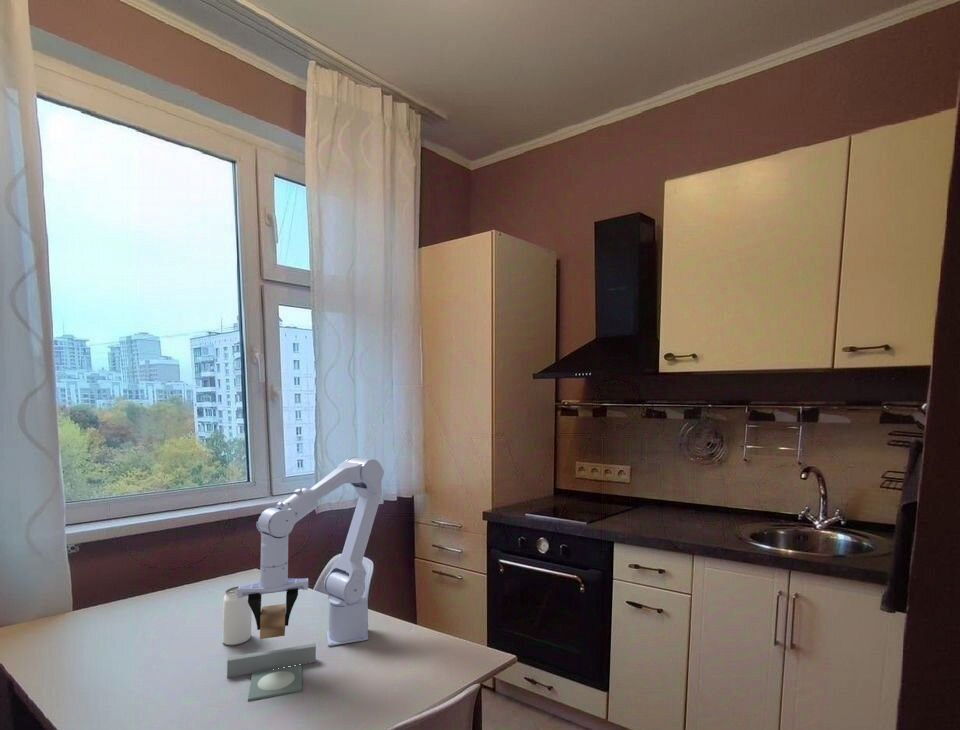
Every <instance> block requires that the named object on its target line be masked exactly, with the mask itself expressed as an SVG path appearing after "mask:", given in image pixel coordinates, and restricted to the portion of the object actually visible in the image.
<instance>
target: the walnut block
mask: <svg viewBox="0 0 960 730" xmlns="http://www.w3.org/2000/svg"><path fill="white" fill-rule="evenodd" d="M285 615H286V603H281V604H280V603H279V604H273V605H265V606H261V615H260V630H259V640H264V639H266V640H267V639H271V638H277V637H284V636H285V635H286V626H285Z"/></svg>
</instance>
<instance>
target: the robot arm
mask: <svg viewBox="0 0 960 730" xmlns="http://www.w3.org/2000/svg"><path fill="white" fill-rule="evenodd" d="M384 474H385V470H384V469H383V467H382V465H381V463H380V462H379V461H378V460H377V459H373V458H371V459H369V458H360V457H355V456H351V457H348V458H347V459H345V461H342V462H340V463H339V464H338V466H337V467H336V468H335V469H334V470H332V471H331V472H330V473H329V474H327V475H326V476H325V477H324V478H322V479H321V480H319V481H318V482H317V483H316V484H314V485H313V486H311V488H307V487H302V488H296V489H294V491H293V494H291V496H289V497H287V498H286V499H285V500H283V501H279V502H278V503H276V506H275V507H268V508H266V509H265V510H264V511H262V512H261V513H260V516H259V517H258V521H256V523H255V525H256V526H255V527H256V529H257V530H258V532H259V533H260V569H259V570H260V575H259V582H253V583H250V584H245V585H239V587H238V598H243V596H248V604H249V606H250V607H251V609H252V615H253V616H254V619H255V623H256V630H257V631H260V615H261V610H262V595H266V594H274V593H281V592H282V593H283V592H286V594H285V597H286V598H285V604H286V615H285V627H287V626H289V623H290V622H289V621H290V616H291V613H292V610H293V607H294V605H295V603H296V601H297V598H298V595H299V590H303V591H307V590H309V578H308V577H307V578H305V577H304V578H289V577H288V575H289V534H291V532H292V531H293V529H294V526H295V524H296V523H298V522H299V521H301V519H303V518H304V517H306V516H307V515H308V514H309V513H311V512H313V511H314V510H315V509H317V507H318V504H319V500H321V499H323V498H324V497H326V496H327V495H329V494H330V493H332V492H333V491H335V490H336V489H338V488H339V487H341V486H343V485H344V484H350V485H351V486H352V487H354V489H355V490H356V492H357V495H358V500H357V502H356V506H355V509H354V512H353V516H352V519H351V522H350V525H349V529H348V533H347V535H346V539H345V543H344V546H343V550H342V553H341V555H340V557H339V558H338V559H336V560H335V561H333V562H332V566H331V568H330V570H329V571H328V573H327V575H326V576H325V577H324V581H323V590H324V592H325V593H326V594H327V596H328V603H329V604H328V630H326V634H325V635H326V642H327V646H328V647H331V646H332V647H333V646H339V645H345V644H350V643H355V642H356V643H357V642H363V641H368V640H369V612H368V611H369V610H368V608H369V607H368V599H367V597H363V596H364V593H365V590H366V577H367V576H366V575H367V571H366V568H365V566H364V565H363V561H364V556H365V554H366V549H367V546H368V542H369V539H370V535H371V533H372V528H373V525H374V522H375V518H376V515H377V511H378V508H379V504H380V501H381V497H382V493H383V492H382V491H383V490H382V489H383V488H382V487H383V485H382V481H383V478H384Z"/></svg>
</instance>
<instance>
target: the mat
mask: <svg viewBox="0 0 960 730" xmlns="http://www.w3.org/2000/svg"><path fill="white" fill-rule="evenodd" d="M302 669H303V668H302V665H296V666H291V667H285V668H279V669H274V670H268V671H262V672H256V673H252V674H251V679H250V685H249V690H248V691H249V692H248V697H247V702H249V701H256V700H262V699H265V698H271V697H276V696H277V697H278V696H282V695H287V694H294V693H297V691H298V692H302V691H303V689H302V688H303V687H302V686H303V683H302V682H303V681H302V679H303V676H302V673H303V671H302Z"/></svg>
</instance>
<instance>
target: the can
mask: <svg viewBox="0 0 960 730" xmlns="http://www.w3.org/2000/svg"><path fill="white" fill-rule="evenodd" d="M239 586H240V585H239ZM239 586H233V587H230V588H228V589H227V590H225V595H224V596H223V603H222V630H221V631H222V633H221V634H222V635H221V636H222V637H221V638H222V640H221V641H222V643H223V644H224V645H225V646H238V645H242V644H244V643H246V642H247V641H249V640H250V638H251V637H252V620H253V619H252V616H253V611H252V609H251V607H250V606H249V604H248V596H243V598H238V587H239Z"/></svg>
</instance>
